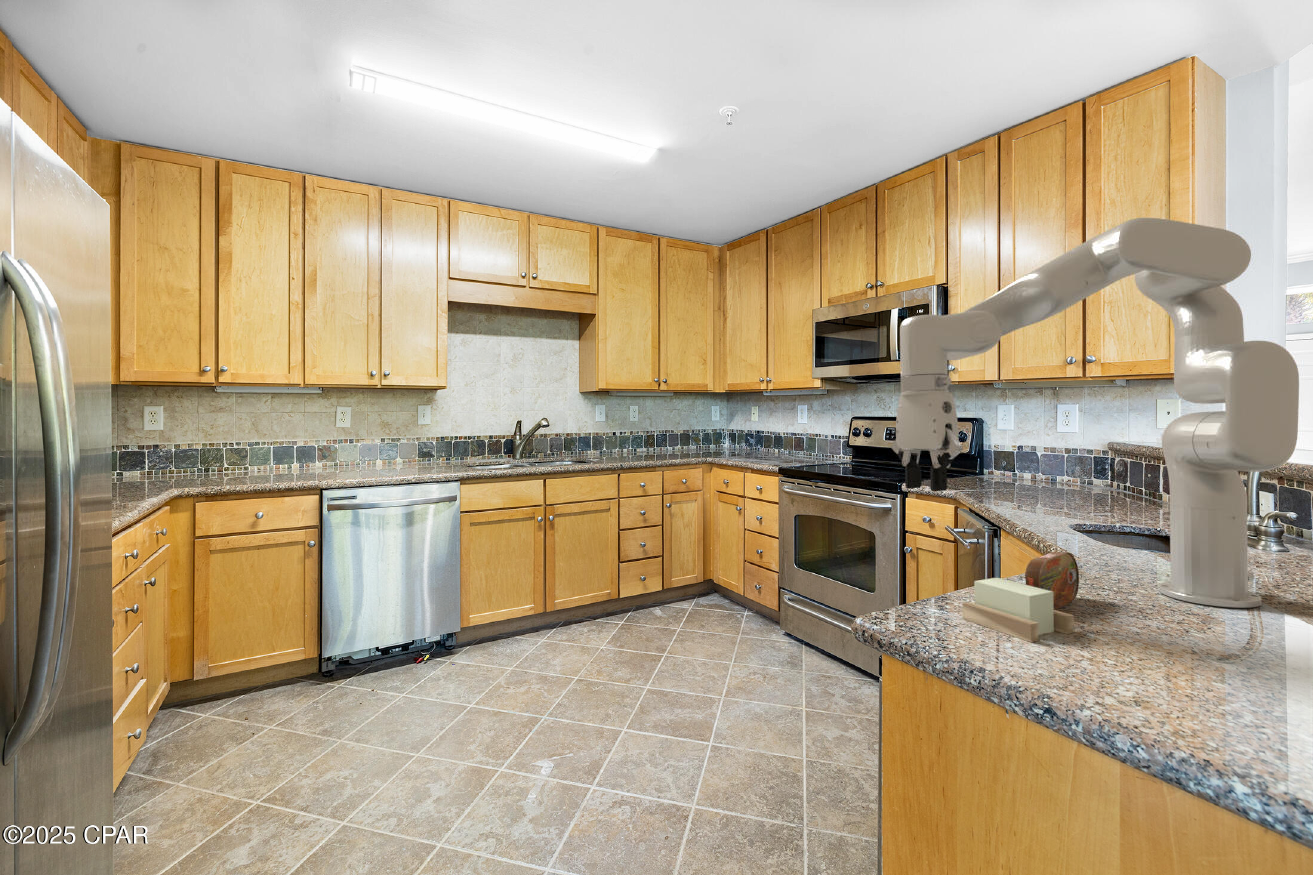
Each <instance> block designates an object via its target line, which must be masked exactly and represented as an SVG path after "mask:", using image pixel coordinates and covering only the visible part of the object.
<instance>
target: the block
mask: <svg viewBox="0 0 1313 875" xmlns="http://www.w3.org/2000/svg"><path fill="white" fill-rule="evenodd" d="M973 582H974V583H973V585H974V590H973V592H974V603H975V604H978V605H981V606H985V607H988V608H991V609H994V610H998V611H1001V612H1004V613H1007V614H1011V615H1014V616H1017V617H1020V618H1024V619H1027V620H1030V621H1034V622H1037V623H1038V636H1039V635H1040V636H1041V635H1044V634H1049V633H1054V632H1055V630H1054V609H1053V592H1052V591H1048V590H1045V589H1041V588H1037V587H1033V586H1029V585H1026V583H1025V584H1024V583H1020V582H1016V581H1014V580H1008V579H1005V578H1001V577H991V578H986V579H980V580H979V579H978V580H975V581H973Z"/></svg>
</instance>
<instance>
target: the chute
mask: <svg viewBox="0 0 1313 875" xmlns="http://www.w3.org/2000/svg"><path fill="white" fill-rule="evenodd" d="M962 620H964V621H968V622H971V623H973V624H977V625H978V626H983V627H985V628H989V629H991V630H994V631H996V632H999V633H1003V634H1006V635H1008V636H1012V637H1014V638H1017V639H1020V640H1023V641H1026V642H1030V643H1034V642H1038V641H1039V635H1038V623H1037V622H1034V621H1030V620H1027V619H1024V618H1020V617H1017V616H1014V615H1011V614H1007V613H1004V612H1001V611H998V610H994V609H991V608H988V607H985V606H981V605H978V604H975V602H972V601H967V602H962ZM1055 631H1056V632H1059V633H1063V634H1066V635H1068V634H1072V633H1073V634H1074V633H1075V632H1074V631H1075V630H1074V615H1073V614H1070V613H1066V612H1062V611H1059V610H1057V609H1056V610H1054V632H1055Z"/></svg>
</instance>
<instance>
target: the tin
mask: <svg viewBox="0 0 1313 875" xmlns="http://www.w3.org/2000/svg"><path fill="white" fill-rule="evenodd" d="M1078 566H1079V565H1078V562H1077V560H1076V558H1075V556H1074V555H1073V554H1072V553H1071V552H1060V551H1052V552H1049V553H1047V554H1044V555H1040V556H1038V557H1036V558H1032V559H1031V560H1029V562H1028V564H1027V565H1026V569H1025V572H1024V579H1025V585H1029V586H1033V587H1037V588H1041V589H1045V590H1048V591H1052V592H1053V609H1054V610H1056V611H1057V610H1058V609H1060V608H1063V607H1065V606H1066V605H1069V604H1071V603H1072V602H1074V600H1076V597H1078V596H1077V595H1078V591H1079V586H1080V573H1079V567H1078Z"/></svg>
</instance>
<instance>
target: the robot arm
mask: <svg viewBox="0 0 1313 875" xmlns="http://www.w3.org/2000/svg"><path fill="white" fill-rule="evenodd" d="M1251 250H1252V249H1251V248H1250V245H1249V244H1248V242H1247V241H1246V240H1245V239H1244V238H1243V237H1242V236H1240V235H1239V234H1237V233H1236V232H1234V231H1231V230H1227V229H1225V228H1219V227H1215V226H1214V227H1213V226H1208V225H1203V224H1196V223H1189V222H1184V221H1179V220H1174V219H1173V220H1172V219H1166V218H1159V217H1138V218H1137V217H1135V218H1133V219H1129V220H1126V221H1124V222H1122V223H1120V224H1118V225H1116V226H1114V227H1112V228H1110V229H1108V230H1105V231H1103V232H1102V233H1100V234H1097V235H1095V236H1093V237H1092V238H1090V239H1088V240H1087V241H1085V242H1083V243H1080V244H1079V245H1077V246H1076V247H1073V248H1072V249H1070V250H1068V251H1067V252H1065V253H1063V254H1061V255H1059V256H1057V257H1056V258H1054V259H1052V260H1050V261H1048V262H1047V263H1045V264H1043V265H1042V266H1039V267H1037V268H1036V269H1034V270H1032V271H1031V272H1028V273H1027V274H1025V275H1024V276H1022V277H1020V278H1019V279H1016V280H1015V281H1013V282H1011V283H1009V285H1007V286H1005V287H1004V288H1003V289H1001V290H999V291H998V292H996V293H995V294H993V295H991V296H990V297H987V298H986V299H983V301H981V302H979V303H977V304H975V305H973V306H971V307H970V308H968V309H966V310H964V311H963V312H959V313H957V312H956V313H952V314H944V315H939V314H921V315H920V314H919V315H915V316H910V317H907V318H905V319H904V320H902V321H901V323H900V325H899V326H900V327H899V338H900V339H899V347H900V348H899V350H900V351H899V353H900V354H899V356H900V358H899V359H900V395H899V398H898V403H897V404H898V405H897V410H896V422H895V437H896V438H895V439H894V441H893V443H892V445H891V449H892V450H893V452H894V453H896V454H897V456H898V458H899V459H900V461H901V464H902V467H905V468H904V472H905V476H904V477H905V478H904V479H905V481H904V483H905V488H906V489H920V488H921V487H922V467H921V465H919V461H920V455H921V452H922V451H928V452H929V454H930V458H931V462H932V463H931V464H932V466H933V467H930V469H929V472H930V473H929V477H930V478H929V480H930V481H929V484H930V491H931V492H944V491H947V489H948V475H947V474H948V472H947V471H948V470H947V469H948V468H950V467H951V463H952V462H953V461H954V460H955V459H956V457H957V456H958V455H959V454H961V452H963V451H964V448H963V445H962V444H961V442H960V441H959V438H960V437H959V424H958V423H959V422H958V415H957V408H956V404H955V400H954V397H953V393H952V392H949V391H948V390H949V389H948V388H949V386H950V385H951V384H952V379H951V378H950V377H949V376H948V361H958V360H963V359H967V358H970V357H974V356H978V355H981V354H984V353H986V352H988V351H989V350H991V349H993V348H994V347H995V346H996V345H997V344H998V343H999V341H1000V340H1001V338H1002V337H1003V336H1006V335H1008V334H1010V333H1013V332H1014V331H1017V330H1019V329H1022V328H1025V327H1029V326H1031V325H1034V324H1036V323H1037V324H1038V323H1040V322H1042V321H1045V320H1048V319H1049V318H1051V317H1053V316H1056V315H1057V314H1061V313H1062V312H1063V311H1065V310H1067V309H1069V308H1071V307H1073V306H1074V305H1076V304H1077V303H1079V302H1081V301H1083V300H1085V299H1086V298H1089V297H1090V296H1092V295H1094V294H1097V293H1098V292H1100V291H1101V290H1103V289H1106V288H1107V287H1109V286H1111V285H1113V284H1115V283H1116V282H1118V281H1120V280H1122V279H1125V278H1127V277H1130V276H1133V275H1134V283H1135V285H1136V288H1137V289H1138V290H1139V291H1140V293H1141V294H1142V295H1143V296H1145V297H1146V298H1148V299H1149V300H1151V301H1153V302H1155V304H1158V305H1159V306H1160V307H1161V308H1162V309H1163V310H1164V311H1165V312H1166V313H1167V314H1168V316H1169V317H1170V319H1171V322H1172V325H1173V335H1174V359H1173V362H1174V363H1173V383H1174V390H1175V391H1176V394H1177V395H1178V396H1179V397H1180V399H1183V400H1184V401H1186V402H1190V403H1193V404H1202V405H1203V404H1206V405H1207V404H1208V405H1209V404H1225V406H1224V407H1225V410H1223V411H1222V410H1221V411H1218V410H1217V411H1200V412H1199V411H1198V412H1191V413H1188V414H1185V415H1181V416H1179V417H1177V418H1175V419H1174V420H1172V421H1171V422H1169V424H1168V425H1167V426H1166V427H1165V429H1164V431H1163V433H1162V437H1161V448H1162V449H1161V450H1162V452H1163V457H1164V461H1165V464H1166V469H1167V474H1168V484H1169V539H1170V540H1169V542H1170V543H1169V546H1170V549H1169V550H1170V552H1169V553H1170V581H1164V582H1161V583H1159V588H1158V590H1159V592H1160V593H1162V594H1163V595H1165V596H1168V597H1169V598H1173V599H1176V600H1179V601H1183V602H1189V603H1192V604H1193V603H1194V604H1197V605H1198V604H1199V605H1204V606H1213V607H1220V608H1221V607H1222V608H1234V609H1235V608H1236V609H1239V608H1243V609H1246V608H1248V609H1249V608H1257V607H1259V606H1261V605H1262V604H1263V603H1262V600H1263V599H1262V596H1261V595H1259V594H1257V593H1255V592H1252V591H1249V582H1253V581H1254V580H1255V574H1254V573H1253V572H1251V571H1250V570H1248V568H1249V567H1248V566H1249V565H1248V564H1249V563H1248V562H1249V561H1248V557H1249V556H1248V554H1249V552H1248V495H1247V490H1246V486H1245V484H1244V481H1243V479H1242V477H1241V475H1240V474H1239V472H1250V473H1251V472H1257V473H1258V472H1267V471H1272V470H1273V471H1274V470H1275V469H1278V468H1280V467H1281V466H1283V465H1284V464H1286V463H1287V462H1288V461H1289V460H1290V459H1291V457H1292V456H1293V454H1294V451H1295V449H1296V447H1297V441H1298V432H1299V406H1300V405H1299V404H1300V402H1299V401H1300V400H1299V398H1300V374H1299V368H1298V365H1297V363H1296V361H1295V359H1294V357H1293V356H1292V354H1291V353H1290V352H1289V351H1288V350H1287V349H1286V348H1284V347H1283V346H1281V345H1279V344H1278V343H1275V342H1272V341H1267V340H1248V341H1247V340H1246V341H1245V332H1244V331H1245V330H1244V317H1243V313H1242V310H1241V307H1240V304H1239V303H1238V301H1237V300H1236V299H1235V298H1234V296H1232V294H1231V293H1229V292H1228V290H1226V289H1225V288H1224V287H1222V286H1225V285H1227V284H1229V283H1232V282H1233V281H1235V280H1236V279H1237V278H1239V277H1240V276H1241V275H1243V273H1244V272H1245V271H1246V270H1247V269H1248V267H1249V265H1250V262H1251V258H1252V252H1251Z"/></svg>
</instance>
